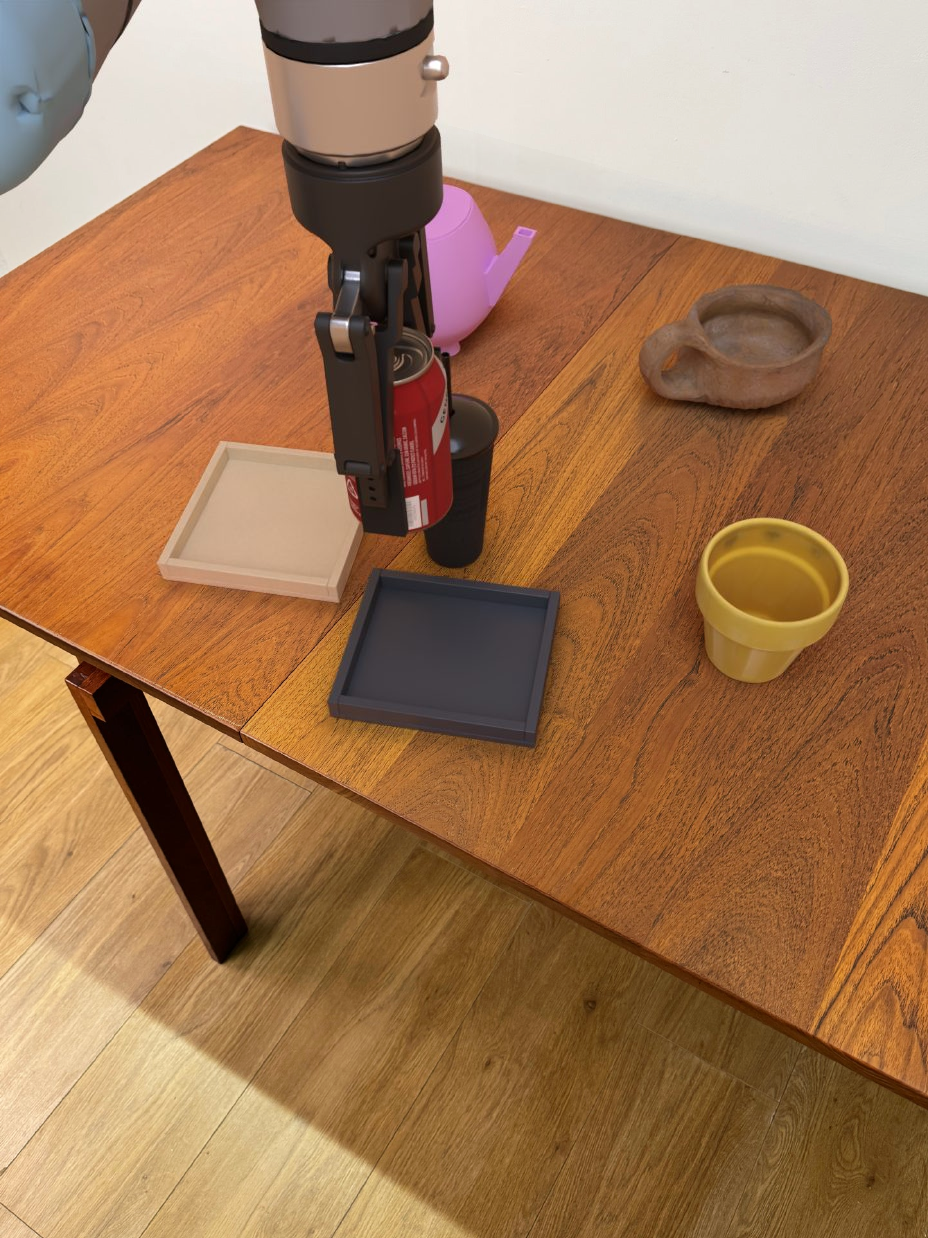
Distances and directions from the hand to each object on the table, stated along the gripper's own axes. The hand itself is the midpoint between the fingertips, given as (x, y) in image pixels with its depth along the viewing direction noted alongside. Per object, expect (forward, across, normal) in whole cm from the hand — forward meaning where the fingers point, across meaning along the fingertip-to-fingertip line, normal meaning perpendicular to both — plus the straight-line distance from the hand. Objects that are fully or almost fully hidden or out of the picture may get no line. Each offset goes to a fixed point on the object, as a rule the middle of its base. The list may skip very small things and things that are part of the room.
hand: (400, 488), depth 64 cm
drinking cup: (+19, +12, 0) cm, 22 cm away
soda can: (+2, 0, 0) cm, 2 cm away
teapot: (+19, +42, +8) cm, 47 cm away
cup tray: (+19, +12, +16) cm, 27 cm away
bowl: (+19, +37, -22) cm, 47 cm away
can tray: (+19, 0, -2) cm, 19 cm away
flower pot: (+19, +5, -25) cm, 32 cm away
